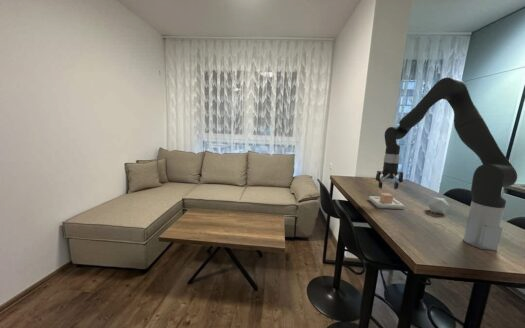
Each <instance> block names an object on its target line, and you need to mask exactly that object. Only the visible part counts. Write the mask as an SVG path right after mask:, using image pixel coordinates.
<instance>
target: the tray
mask: <svg viewBox="0 0 525 328" xmlns="http://www.w3.org/2000/svg"><path fill="white" fill-rule="evenodd" d="M368 201H370V202H371V203H372V204H373V205H374V206H376V208H378V209H392V210H405V205H404V204H403V203H401V202H400V201H399V200H397V199H396V198H395V197H393V201H392V204H384V203H382V202H381V201H380V196H374V195H373V196H372V195H370V196H368Z"/></svg>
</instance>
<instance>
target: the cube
mask: <svg viewBox="0 0 525 328" xmlns="http://www.w3.org/2000/svg"><path fill="white" fill-rule="evenodd" d="M379 197H380V201H381V202H382V203H384V204H392V201H393V198H394V195H392V194H391V193H387V192H380V195H379Z"/></svg>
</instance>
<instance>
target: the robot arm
mask: <svg viewBox="0 0 525 328" xmlns="http://www.w3.org/2000/svg"><path fill="white" fill-rule="evenodd" d="M441 100H445V101H447V103H449V106H450V107H451V109H452V110H453V126H454V129H455V131H456V133H457V136H458V137H459V139H460V140H461V142H462V143H463V144H464V145H465V146H466V148H468V149H470V150H471V151H472V152H473V153H474V154H475V155H476V156H477V158H479V160H480V162H481V165H479V166H478V167H477V168H476V169H475V171H474V173H473V176H472V182H471V189H470V195H471V203H470V207H469V212H468V216H467V220H466V225H465V230H464V235H463V241H464V242H465V243H467V244H468V245H470V246H473V247H475V248H478V249H479V250H485V251H486V250H490V251H498V249H499V248H498V247H499V243H500V240H501V236H502V233H503V227H502V226H501V224H502V220H503V217H504V212H505V207H506V204H507V200H506V199H505V198H504V197H502V191H503V188H507V187H511V186H512V185H515V183H516V182H517V180H518V172H517V171H516V169H515V168H514V166H513V165H512V164H511V162H510V161H509V159H508V158H507V157H506V155H505V154H504V153H503V152H502V150H501V149H500V147H499V145H498V143H497V141H496V140H495V138H494V135H492V133H491V131H490V128H489V126H488V125H487V123H486V121H485V120H484V118H483V117H482V115H481V113H480V112H479V110H478V108H477V107H476V105H475V104H474V101H473V100H472V98H471V94H470V92H469V89H468V87H467V85H466V83H465V82H464V81H463V80H461V79H458V78H454V77H449V76H448V77H443V78H441V79H439V80H438V81H437V82H436V83H434V85H433V86H432V87H431V88H430V90H428V92H427V93H426V94H425V95H424V96H423V97H422V99H421V100H419V102H418V103H417V104H416V106H414V107H413V108H412V109H411V110H410V111H409V112H408V113H407V114H406V115H404V116H403V117H402V118H401V119H400V120H399V122H398V124H399V125H398V126H390V127H388V128H386V130H385V132H384V143H385V154H384V156H383V166H382V170H381V171H380V170H377V171H376V175H375V181H376V182H378V185H377V186H378V188H379V189H383V182H384V181H385V180H386V179H387V180H393V181H394V184H393V185H394V186H393V189H394V190H397V189H398V188H399V184H400V183H403V180H404V172H402V171H398V170H399V164H400V153H401V146H400V144H399V143H397V140H401V139H403V138H404V137H405V136H407V134H409V132H410V131H411V130H412V129H413V127H416V125H417V124H418V123H420V122H421V121H422V120H423V119H424V118H425V116H426V115H427V112H428V111H429V110H430V109H431V108H432V107H433V105H435V104H436V103H438V102H439V101H441ZM381 175H382V176H381ZM397 176H398V177H397Z"/></svg>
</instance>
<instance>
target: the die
mask: <svg viewBox="0 0 525 328" xmlns="http://www.w3.org/2000/svg"><path fill="white" fill-rule="evenodd" d="M426 205H427V207H428V208H429V210H430V211H431V213H434V214H439V215H440V214H441V215H444V214H445V213H446V212H447V211H448V209H449V208H450V205H449V203H448V202H447V201H446V199H445V198H442V197H436V196H435V197H434V196H432V197H431V199H430V200H429V201H428V203H427V204H426Z"/></svg>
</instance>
